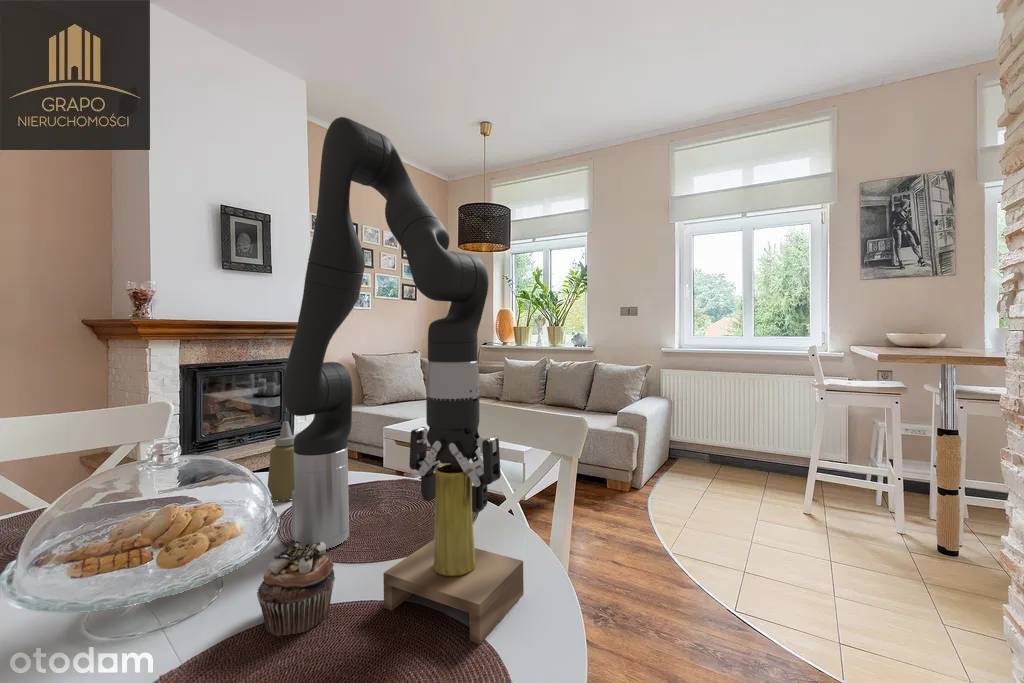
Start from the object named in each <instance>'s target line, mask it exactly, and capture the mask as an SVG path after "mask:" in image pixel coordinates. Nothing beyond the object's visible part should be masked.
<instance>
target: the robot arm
mask: <svg viewBox="0 0 1024 683" xmlns="http://www.w3.org/2000/svg"><path fill="white" fill-rule="evenodd" d="M321 150H322V152H321V160H320V170H319V172H320V174H319V182H318V183H319V184H318V198H317V208H316V215H315V220H314V221H315V222H314V229H313V233H312V234H313V235H312V239H311V247H310V251H309V254H308V260H307V264H306V265H307V266H306V272H305V277H304V284H303V293H302V300H301V304H300V309H299V315H298V319H297V320H298V321H297V325H296V330H295V333H294V337H293V341H292V345H291V348H290V352H289V355H288V359H287V362H286V366H285V369H284V373H283V378H282V385H281V398H282V401H283V402H282V403H283V406H284V407H285V409H286V410H287V411H288V412H289V413H290V414H291V415H293V416H296V417H303V416H304V417H305V416H312V415H314V416H313V419H312V421H311V422H310V423H309V425H307V427H305V428H304V429H302V430H300V431H299V432H298V433H297V434H296V435H295V438H294V481H295V490H293V491H292V500H291V517H292V518H291V519H292V520H291V521H292V522H291V523H292V541H293V540H294V541H297V542H300V546H301V547H305V546H306V545H307V544H313V543H317V542H319V543H321V542H323V543H325V545H326V549H327V550H330V549H329V548H331V549H333V548H332V547H334V548H336V547H335V546H337V545H339V544H341V543H342V544H344V543H345V542H346V541H348V539H349V538H348V537H350V517H349V516H350V507H349V506H350V505H349V504H350V501H349V499H350V498H349V496H350V495H349V460H348V458H349V456H348V452H349V451H348V450H349V449H348V445H349V444H348V441H349V440H348V439H349V437H350V434H351V430H352V425H353V423H352V422H353V421H352V420H353V415H352V414H353V398H354V397H353V391H354V389H353V382H352V377H351V374H350V372H349V370H348V369H347V368H346V366H345V365H343V364H342V363H340V362H335V361H327V362H324V361H325V356H326V352H327V349H328V346H329V344H330V342H331V340H332V339H333V336H334V335H335V333H337V331H338V329H339V328H340V326H341V325H342V324H343V322H344V321H345V320H346V318H347V317H348V316H349V315H350V313H351V312H352V311H353V309H354V307H355V306H356V304H357V302H358V300H359V297H360V295H361V294H360V293H361V290H362V284H363V277H364V273H365V266H366V265H365V264H366V260H365V256H364V251H363V249H362V244H361V242H360V240H359V237H358V234H357V232H356V228H355V226H354V223H353V220H352V214H351V211H350V210H351V208H350V196H351V186H352V185H351V184H352V182H354V183H356V184H360V185H361V186H365V187H366V186H367V187H371V188H373V189H374V190H375V191H377V192H378V193H379V194H380V195H381V196H382V197H383V198H384V199H385V201H386V203H385V208H384V216H385V221H386V224H387V227H388V229H389V230H390V232H391V235H392V236H393V237H394V238H395V240H396V242H397V243H398V244H399V246H400V247H401V248H402V250H403V251H404V253H405V254H406V259H407V263H408V265H409V266H408V267H409V270H410V272H411V277H412V280H413V283H414V286H415V287H416V289H417V290H418V291H419V292H420V293H421V294H422V295H423V296H424V297H426V298H428V299H430V300H432V301H435V302H436V301H437V302H450V305H449V308H448V312H447V314H446V316H445V317H444V318H443V317H442V318H439V319H436V320H433V321H432V322H431V323H430V324H429V325H428V331H427V368H426V375H425V376H426V377H425V378H426V380H425V382H426V383H425V389H426V392H425V396H426V398H425V400H426V404H425V405H426V407H425V408H426V410H425V412H426V417H425V418H426V421H425V422H426V426H428V427H429V428H427V427H426V426H421V427H419V428H416V429H412V430H411V431H410V438H409V441H410V442H409V444H410V446H409V469H410V470H412V471H416V472H418V473H419V475H420V486H421V487H420V493H421V496H422V498H423V499H422V500H423V501H425V502H430V501H432V500H434V499H435V469H436V467H438V466H440V465H443V464H448V463H450V464H452V465H454V466H461V468H462V470H463V471H464V473H467V474H468V475H469V477H470V479H471V481H472V513H475V514H477V513H478V514H479V513H480V512H482V511H483V510H485V507H487V505H488V485H491V484H492V483H494V482H496V481H498V480H499V479H500V478H501V476H502V474H501V461H500V460H501V458H500V457H501V456H500V440H499V437H497V436H495V435H494V436H492V437H481V436H480V434H479V430H478V429H479V424H480V390H481V389H480V388H481V387H480V371H479V365H478V332H479V328H480V325H481V321H482V317H483V312H484V308H485V305H486V301H487V297H488V292H489V284H490V283H489V276H488V271H487V268H486V265H485V264H484V262H483V260H482V259H480V258H479V257H477V256H476V255H473V254H469V253H462V252H458V251H451V250H448V249H449V247H450V246H449V245H450V235H449V233H448V230H447V228H446V227H445V225H444V224H443V223H442V222H441V220H440V219H439V218H438V216H437V215H436V214H435V212H434V211H433V210H432V209H431V208H430V206H429V205H428V203H426V201H425V200H424V199H423V197H422V195H421V194H420V193H419V191H418V189H417V188H416V186H415V184H414V182H413V180H412V178H411V176H410V174H409V172H408V170H407V168H406V166H405V164H404V161H403V160H402V158H401V155H400V153H399V151H398V150H397V148H396V147H395V145H394V144H393V142H392V141H391V139H389V138H388V137H387V136H386V135H384V134H382V133H380V132H379V131H376V130H374V129H373V128H371V127H369V126H366V125H365V124H362V123H359V122H358V121H356V120H353V119H351V118H349V117H345V116H340V117H337V118H335V119H334V120H333V121H332V122H331V123H330V124H329V127H328V128H327V130H326V133H325V135H324V140H323V146H322V149H321ZM428 444H429V446H430V447H431V448H430V450H429V452H428V451H427V450H428ZM478 448H479V452H480V453H479V452H478ZM427 452H428V453H427ZM480 454H482V457H481V455H480ZM470 460H471V461H472V462H470ZM347 538H348V539H347ZM345 540H346V541H345ZM344 541H345V542H344ZM343 542H344V543H343ZM342 544H341V545H342ZM339 546H340V545H339ZM337 547H338V546H337Z"/></svg>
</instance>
